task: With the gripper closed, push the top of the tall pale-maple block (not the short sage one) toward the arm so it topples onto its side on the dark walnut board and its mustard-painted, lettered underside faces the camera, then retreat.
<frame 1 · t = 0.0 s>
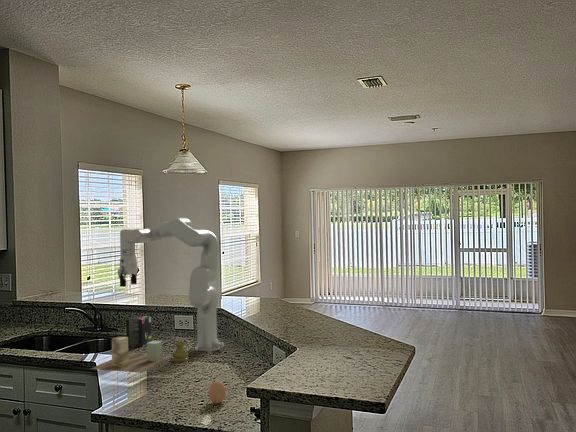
hand: (128, 285, 281), 31 cm above the counter, fingers open, 9 cm apart
tampon box: (139, 345, 279), on the counter
olive tiered piece: (180, 363, 243), on the counter
egg: (217, 403, 189), on the counter
walnut board: (134, 364, 241), on the counter
maple block: (120, 365, 236), point 1 cm above the counter, touching walnut board
sage block: (154, 359, 245), point 1 cm above the counter, touching walnut board
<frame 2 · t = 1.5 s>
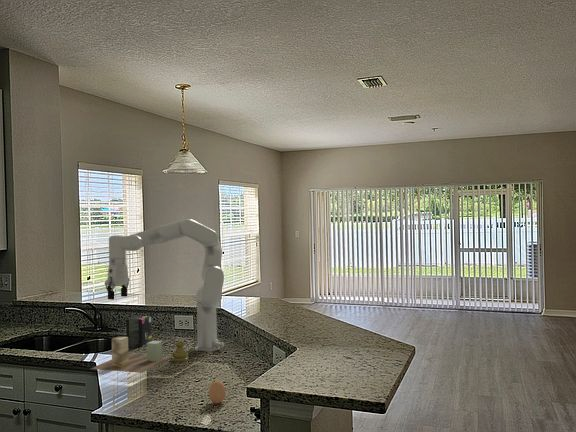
hand: (117, 297, 252), 29 cm above the counter, fingers open, 9 cm apart
nothing on the counter moved.
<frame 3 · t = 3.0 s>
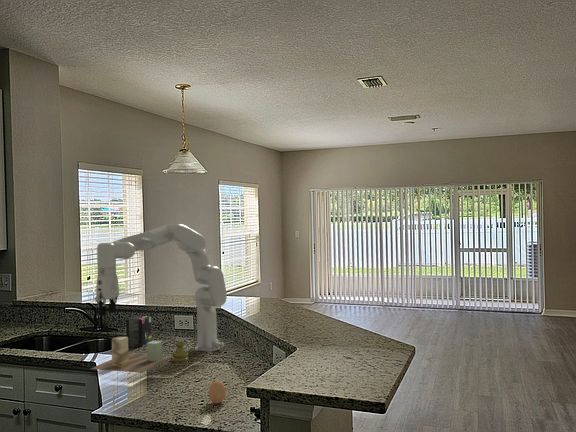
hand: (107, 313, 228), 26 cm above the counter, fingers open, 5 cm apart
nothing on the counter moved.
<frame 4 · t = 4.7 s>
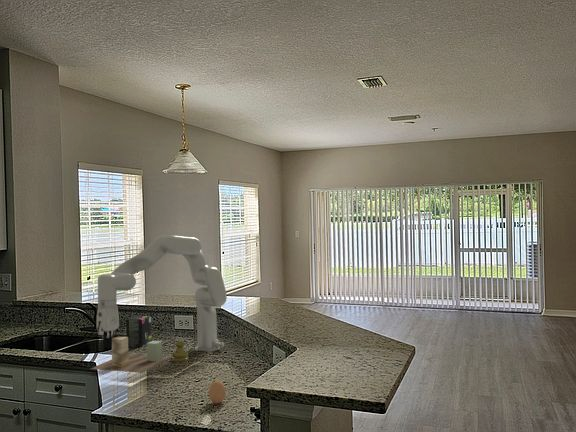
hand: (107, 346, 228), 12 cm above the counter, fingers closed
nothing on the counter moved.
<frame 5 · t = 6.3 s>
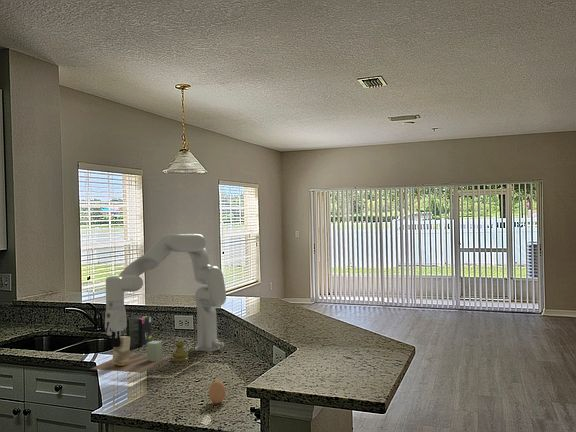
hand: (115, 346, 233), 10 cm above the counter, fingers closed
maple block: (120, 364, 236), point 2 cm above the counter, tilted 9°, touching walnut board
everything else where it was.
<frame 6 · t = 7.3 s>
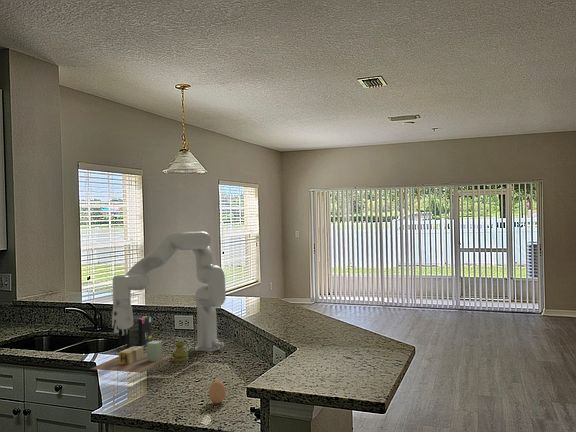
hand: (122, 344, 238), 10 cm above the counter, fingers closed
maple block: (123, 358, 239), point 4 cm above the counter, tilted 90°, touching walnut board
everything else where it was.
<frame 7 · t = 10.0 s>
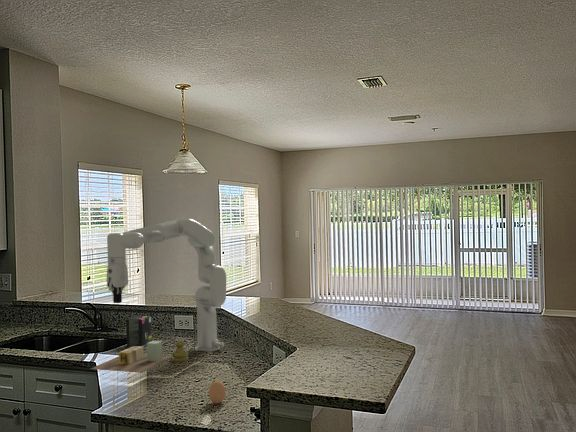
hand: (117, 302, 236), 29 cm above the counter, fingers closed
nothing on the counter moved.
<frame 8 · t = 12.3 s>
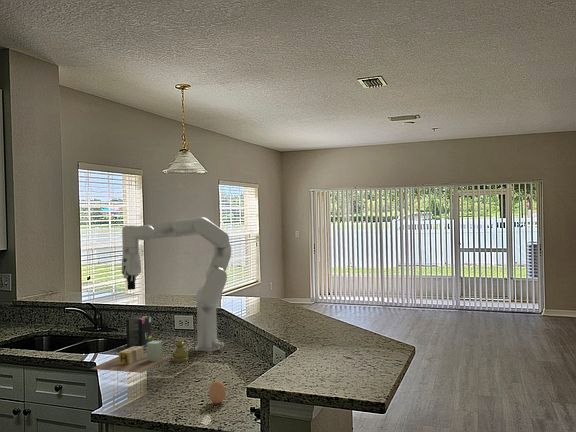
hand: (131, 289, 257), 32 cm above the counter, fingers closed
nothing on the counter moved.
at the end: maple block tilted 90°; maple block inside the target area on the walnut board (4.6 cm from its centre), point 3.7 cm above the walnut board's base; sage block tilted 0° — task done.
